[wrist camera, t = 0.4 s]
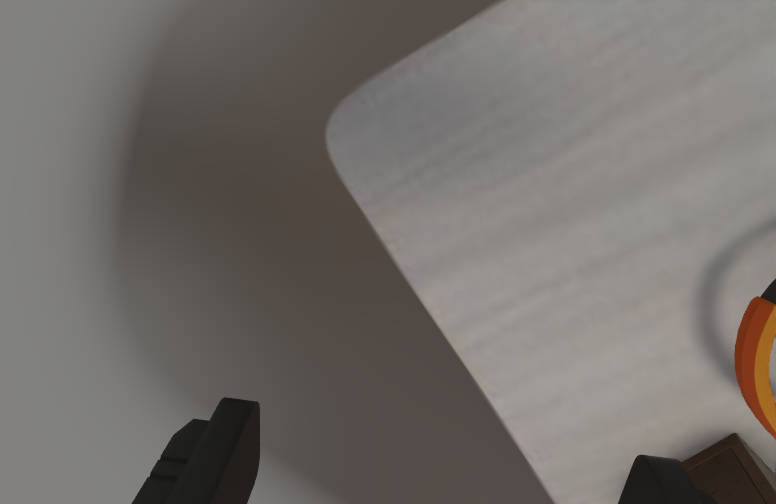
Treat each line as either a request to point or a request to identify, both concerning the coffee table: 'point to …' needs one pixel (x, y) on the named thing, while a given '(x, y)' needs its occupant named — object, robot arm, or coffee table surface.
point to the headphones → (757, 357)
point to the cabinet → (732, 474)
